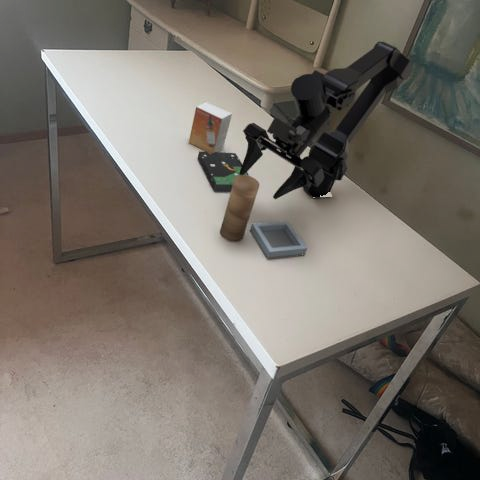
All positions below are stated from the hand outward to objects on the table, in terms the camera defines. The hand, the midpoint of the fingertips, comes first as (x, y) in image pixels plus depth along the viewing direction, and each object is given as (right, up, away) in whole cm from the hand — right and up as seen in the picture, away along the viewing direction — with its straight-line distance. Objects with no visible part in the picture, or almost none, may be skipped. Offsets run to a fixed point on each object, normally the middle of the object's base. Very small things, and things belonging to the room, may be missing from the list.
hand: (256, 186), depth 92 cm
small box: (-13, +14, +31) cm, 36 cm away
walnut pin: (-5, -10, +4) cm, 11 cm away
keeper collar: (+4, -11, +5) cm, 13 cm away
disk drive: (-7, +5, +22) cm, 24 cm away
